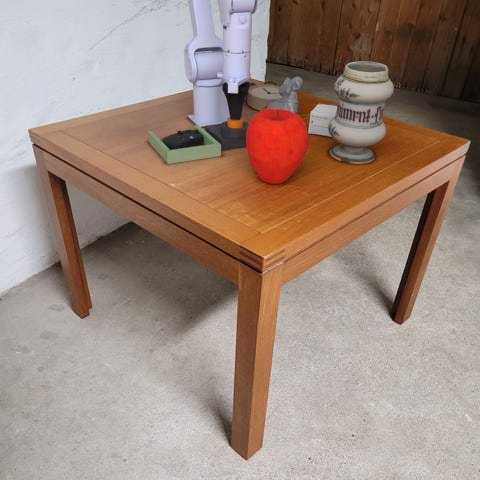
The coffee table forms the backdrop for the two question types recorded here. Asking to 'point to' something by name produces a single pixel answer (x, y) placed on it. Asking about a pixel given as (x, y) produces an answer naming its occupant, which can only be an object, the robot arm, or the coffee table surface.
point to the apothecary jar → (359, 111)
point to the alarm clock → (262, 94)
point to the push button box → (228, 135)
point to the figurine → (288, 95)
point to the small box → (321, 119)
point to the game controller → (183, 139)
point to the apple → (276, 144)
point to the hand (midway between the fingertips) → (235, 118)
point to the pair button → (235, 123)
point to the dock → (190, 153)
